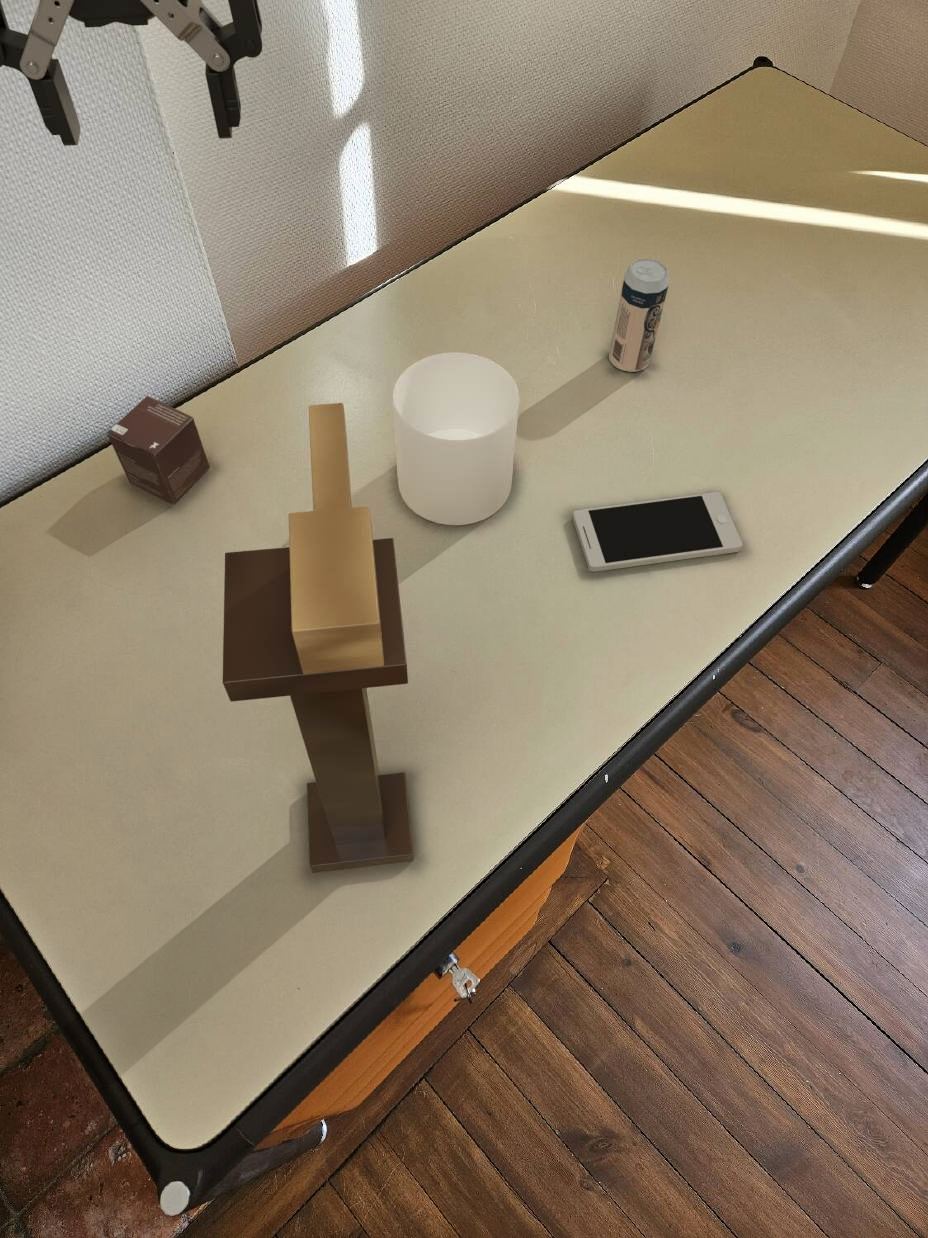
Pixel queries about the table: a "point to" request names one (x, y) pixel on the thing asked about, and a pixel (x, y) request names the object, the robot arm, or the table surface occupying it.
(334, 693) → the stand
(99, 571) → the table surface
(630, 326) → the beer can
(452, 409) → the cup
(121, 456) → the box
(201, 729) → the table surface
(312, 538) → the wooden block
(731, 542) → the smartphone
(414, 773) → the table surface
